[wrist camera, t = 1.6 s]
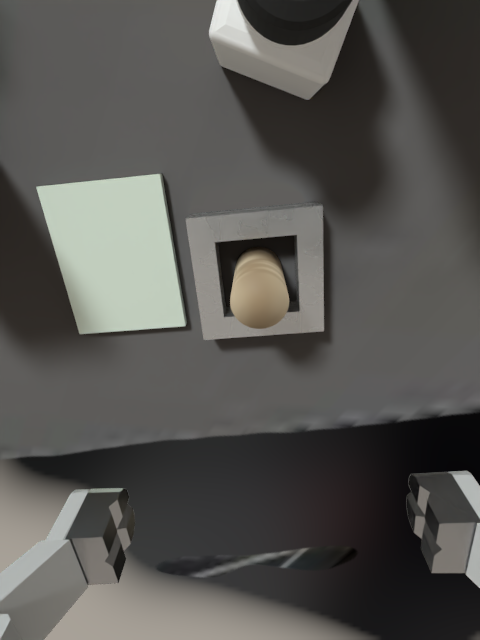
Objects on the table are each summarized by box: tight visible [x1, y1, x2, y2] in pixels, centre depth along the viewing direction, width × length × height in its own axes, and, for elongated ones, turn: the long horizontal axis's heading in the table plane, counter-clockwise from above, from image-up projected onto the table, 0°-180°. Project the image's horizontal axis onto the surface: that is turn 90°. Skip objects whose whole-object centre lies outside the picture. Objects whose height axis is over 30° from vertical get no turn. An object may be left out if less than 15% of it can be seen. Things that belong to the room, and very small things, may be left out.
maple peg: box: [230, 247, 289, 329], centre depth 29 cm, size 4×4×8 cm
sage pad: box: [36, 174, 187, 334], centre depth 32 cm, size 10×13×1 cm
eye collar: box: [186, 202, 324, 340], centre depth 32 cm, size 10×10×2 cm
